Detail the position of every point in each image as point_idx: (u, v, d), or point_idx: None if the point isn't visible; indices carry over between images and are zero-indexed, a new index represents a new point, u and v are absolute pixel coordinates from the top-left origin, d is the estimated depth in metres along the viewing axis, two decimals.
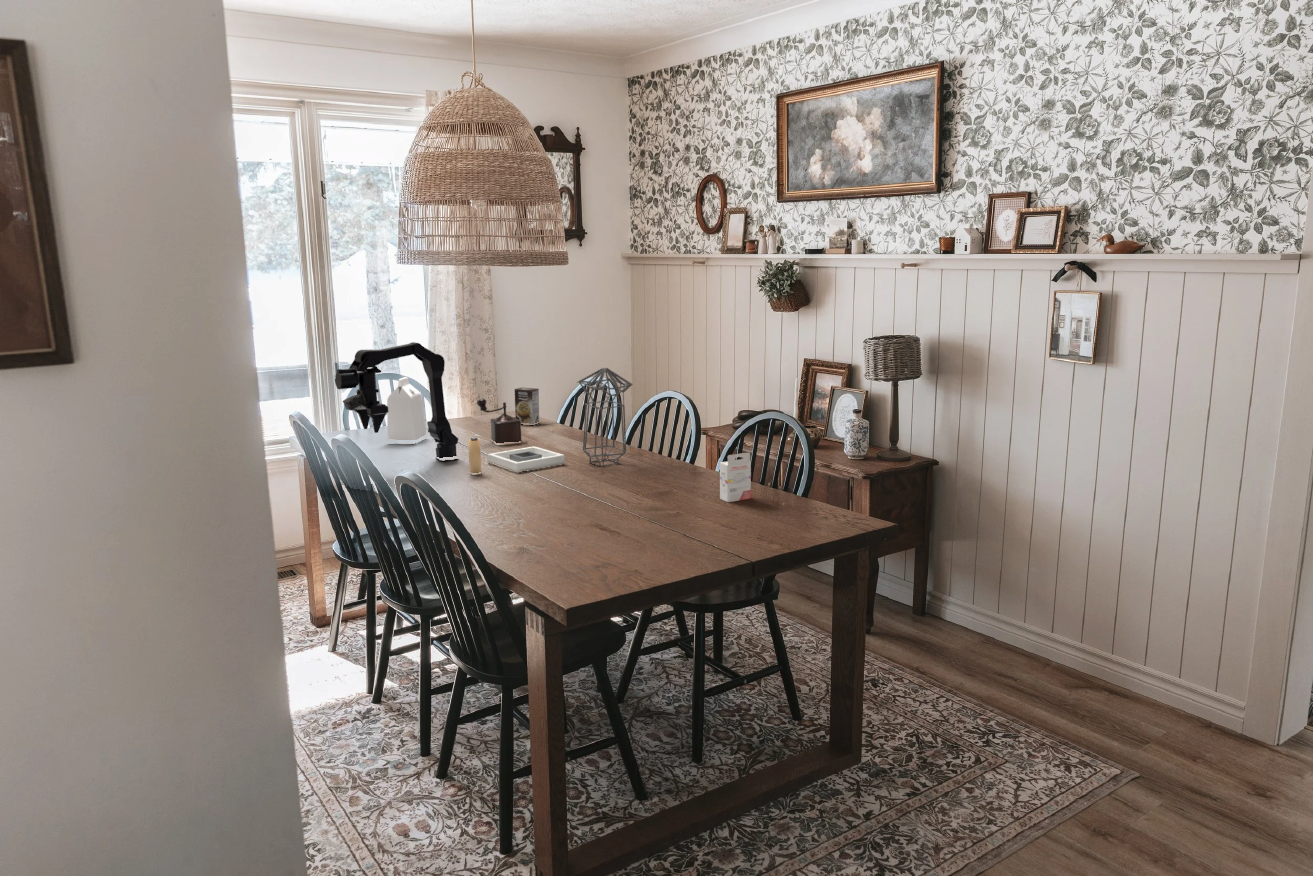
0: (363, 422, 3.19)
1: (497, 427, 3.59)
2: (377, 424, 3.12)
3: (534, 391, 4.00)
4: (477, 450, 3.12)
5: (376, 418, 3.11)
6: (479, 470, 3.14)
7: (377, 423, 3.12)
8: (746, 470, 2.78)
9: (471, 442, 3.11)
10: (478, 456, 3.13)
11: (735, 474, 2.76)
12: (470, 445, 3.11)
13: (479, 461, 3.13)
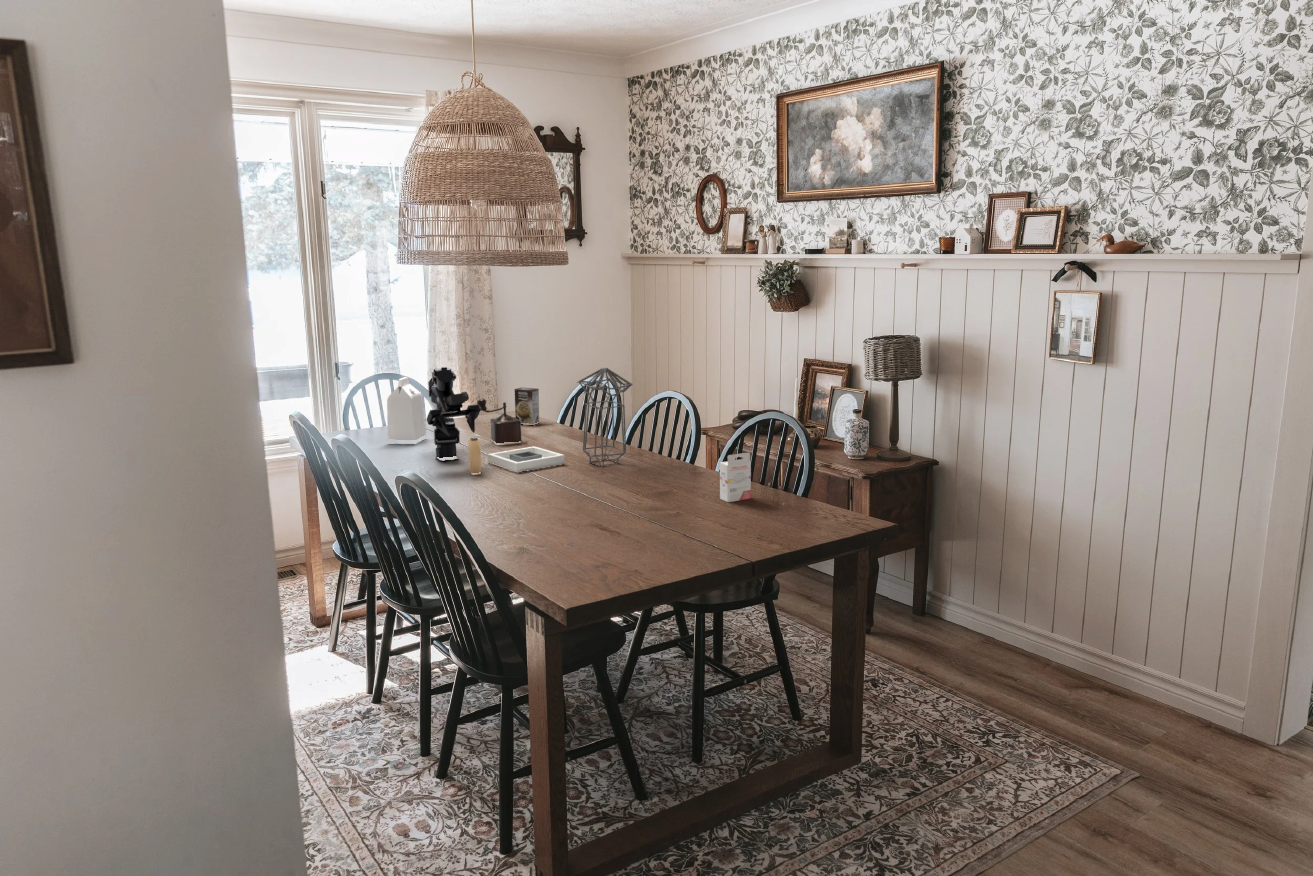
0: None
1: (497, 427, 3.59)
2: None
3: (534, 391, 4.00)
4: (477, 450, 3.12)
5: None
6: (479, 470, 3.14)
7: None
8: (746, 470, 2.78)
9: (471, 442, 3.11)
10: (478, 456, 3.13)
11: (735, 474, 2.76)
12: (470, 445, 3.11)
13: (479, 461, 3.13)
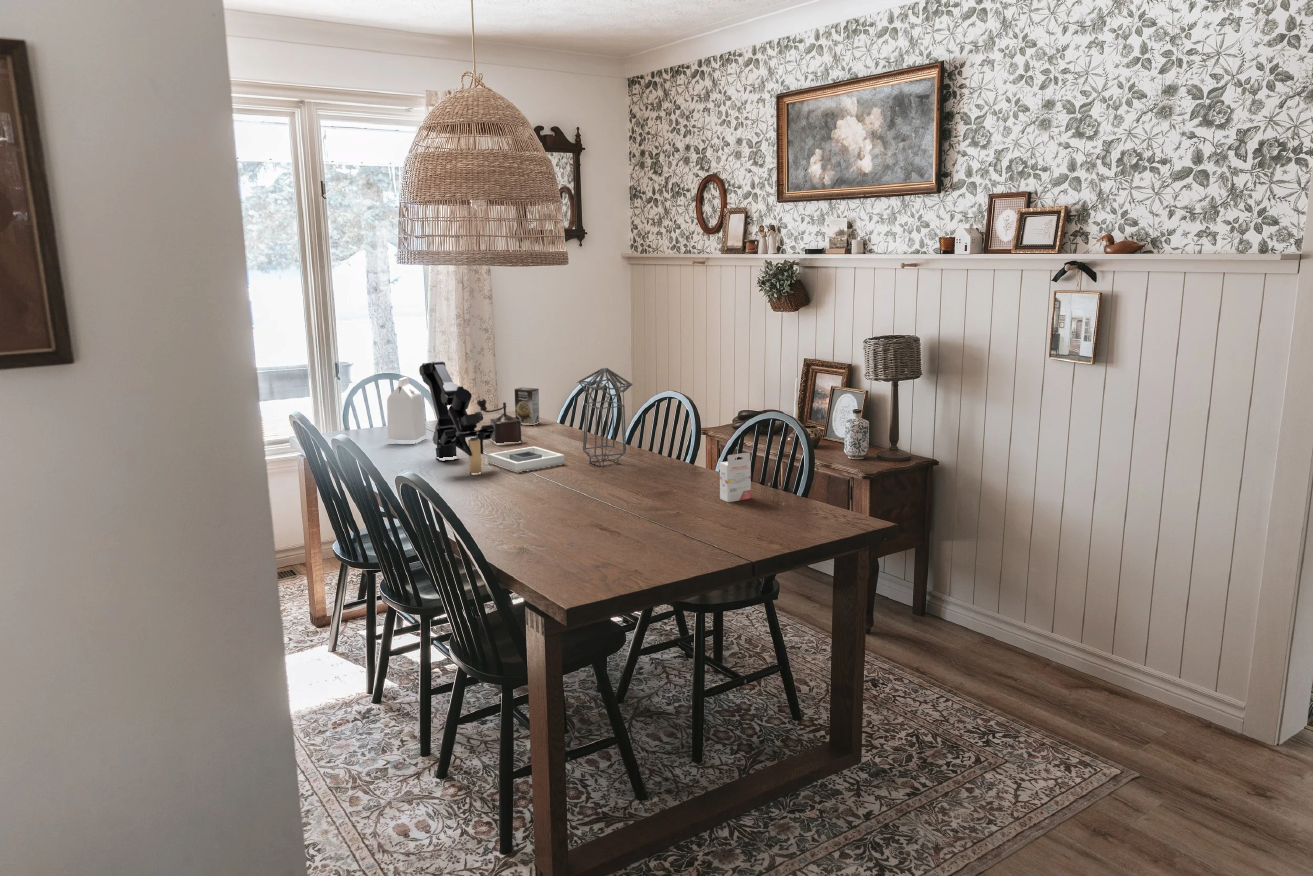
0: None
1: (497, 427, 3.59)
2: None
3: (534, 391, 4.00)
4: (477, 450, 3.12)
5: None
6: (479, 470, 3.14)
7: None
8: (746, 470, 2.78)
9: (471, 442, 3.11)
10: (478, 456, 3.13)
11: (735, 474, 2.76)
12: (470, 445, 3.11)
13: (479, 461, 3.13)
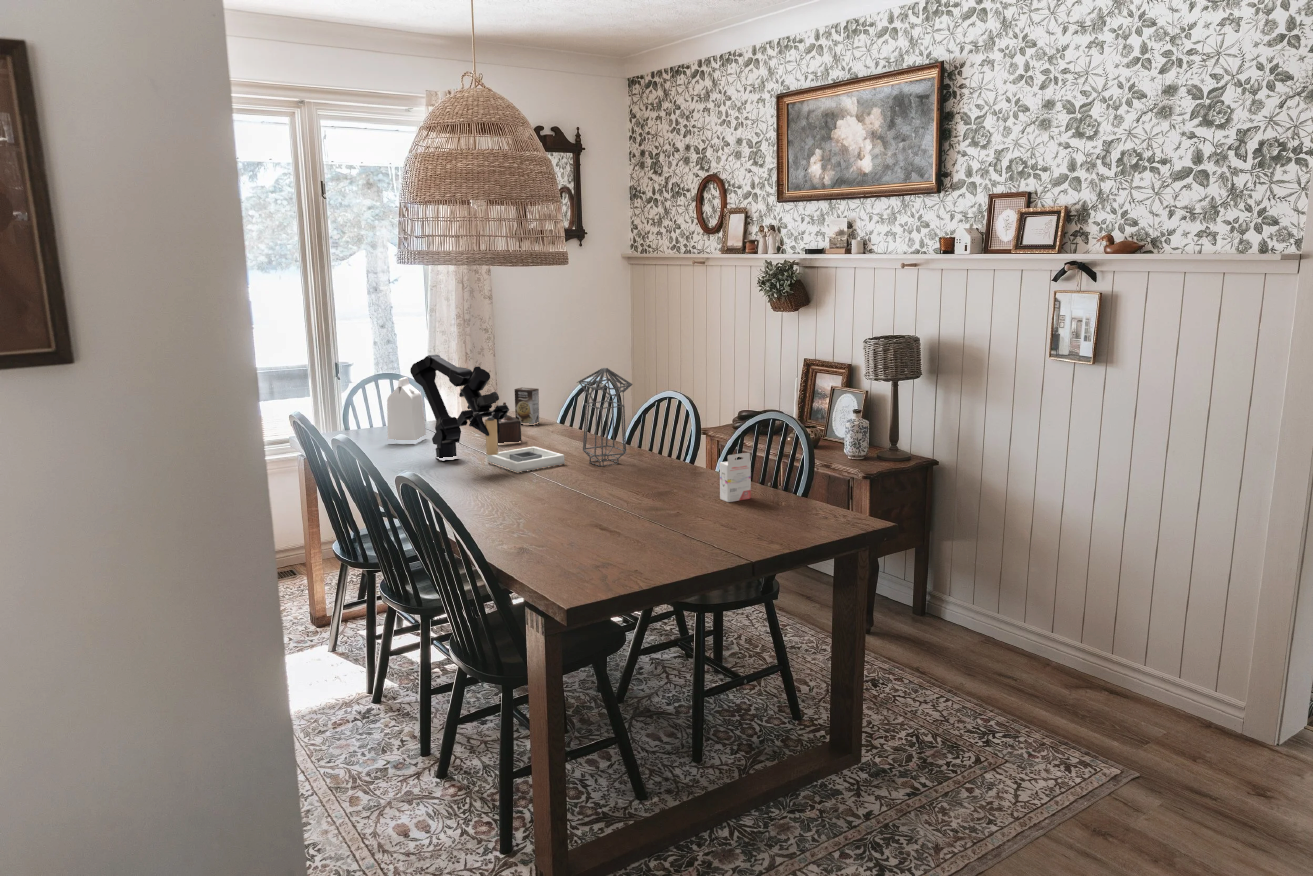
0: None
1: None
2: None
3: (534, 391, 4.00)
4: (494, 430, 3.14)
5: None
6: (496, 450, 3.15)
7: None
8: (746, 470, 2.78)
9: (488, 422, 3.12)
10: (495, 436, 3.14)
11: (735, 474, 2.76)
12: (487, 425, 3.13)
13: (496, 441, 3.15)
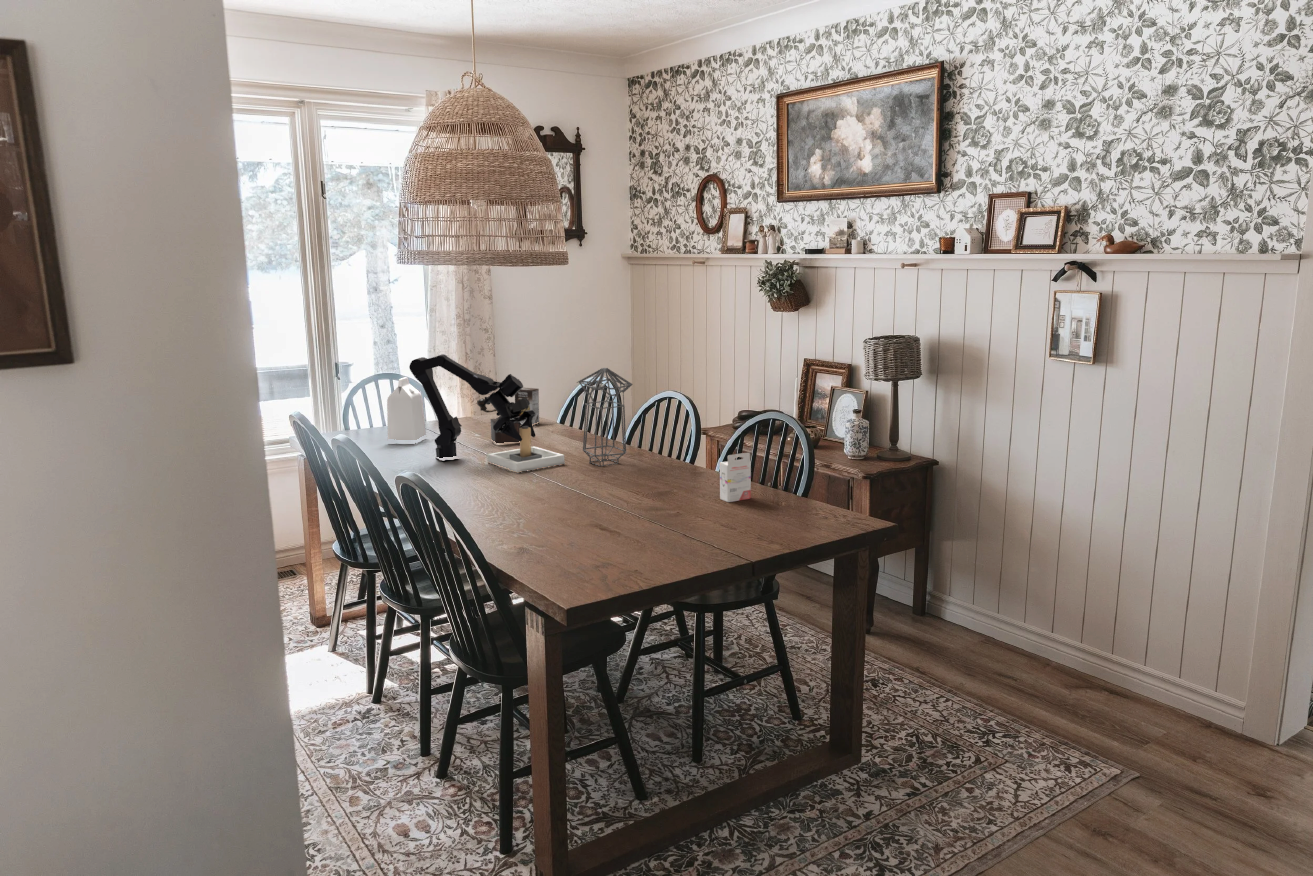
0: None
1: None
2: None
3: (534, 391, 4.00)
4: (529, 437, 3.26)
5: None
6: None
7: None
8: (746, 470, 2.78)
9: (524, 430, 3.25)
10: (530, 444, 3.27)
11: (735, 474, 2.76)
12: (523, 433, 3.25)
13: (530, 448, 3.28)
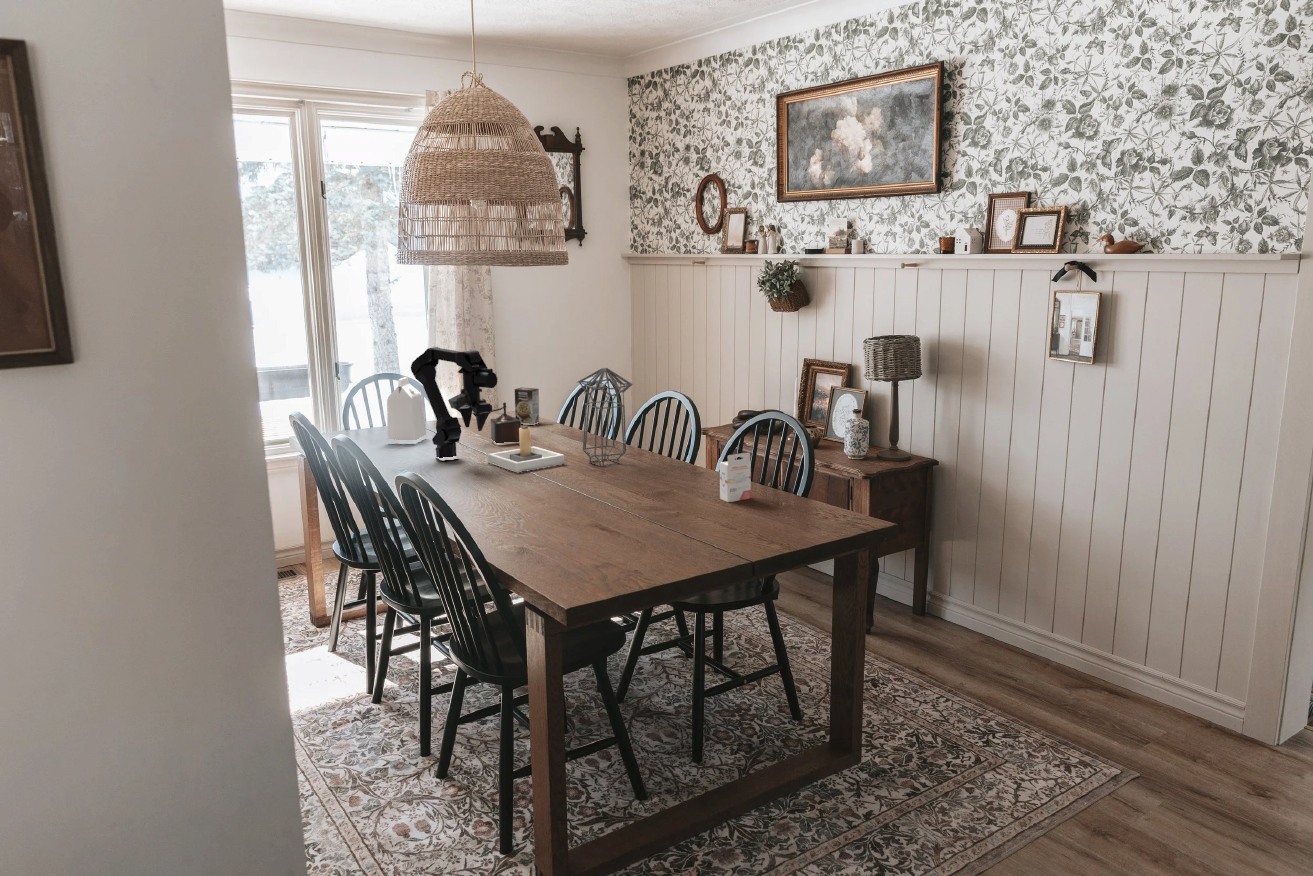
0: (465, 421, 3.29)
1: (497, 427, 3.59)
2: (481, 422, 3.22)
3: (534, 391, 4.00)
4: (529, 437, 3.26)
5: (480, 417, 3.21)
6: None
7: (481, 421, 3.22)
8: (746, 470, 2.78)
9: (524, 430, 3.25)
10: (529, 444, 3.27)
11: (735, 474, 2.76)
12: (523, 433, 3.25)
13: (530, 448, 3.28)
